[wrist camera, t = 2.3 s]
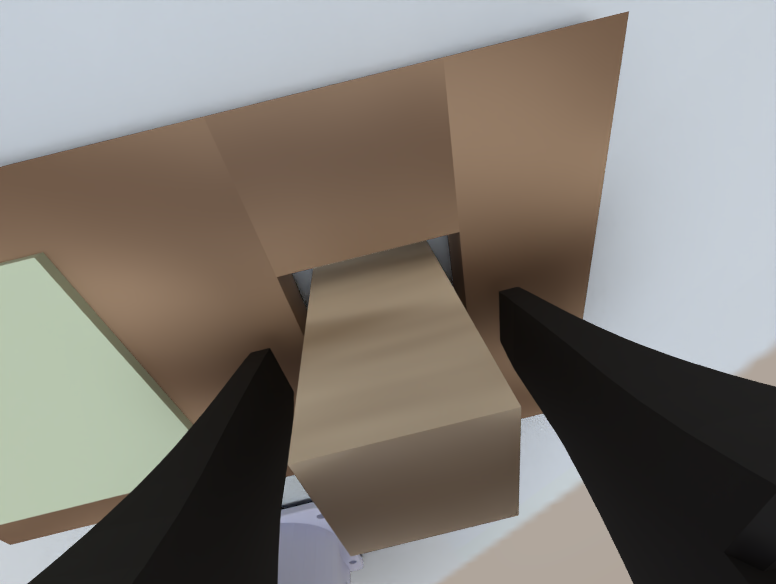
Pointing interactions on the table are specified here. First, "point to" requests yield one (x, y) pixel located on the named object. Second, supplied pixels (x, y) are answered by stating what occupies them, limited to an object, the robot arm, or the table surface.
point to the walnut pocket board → (326, 208)
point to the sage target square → (70, 399)
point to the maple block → (400, 406)
